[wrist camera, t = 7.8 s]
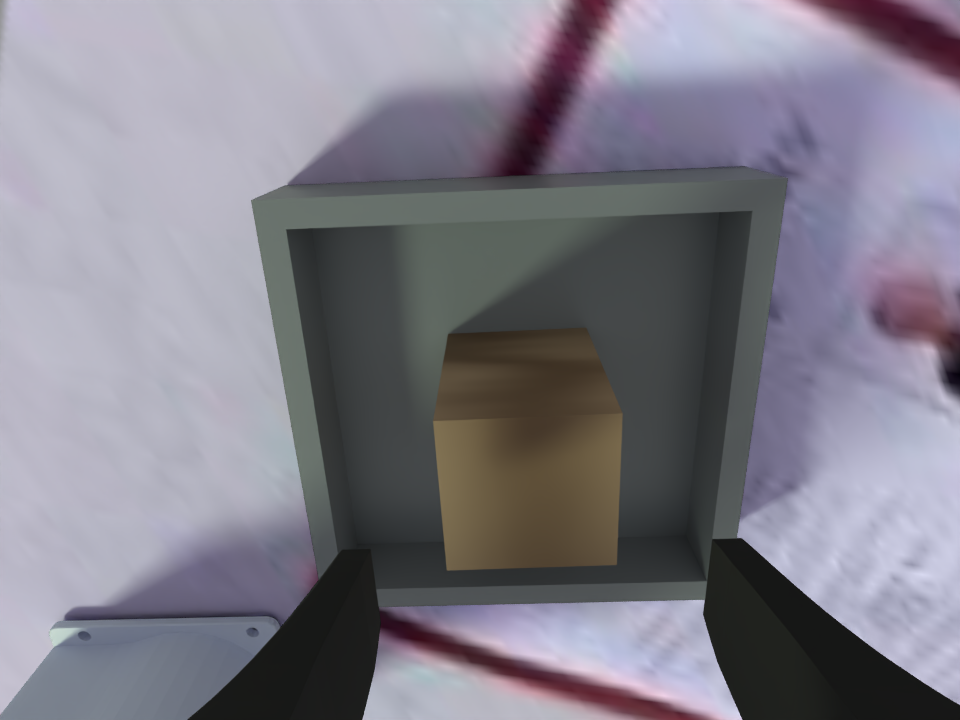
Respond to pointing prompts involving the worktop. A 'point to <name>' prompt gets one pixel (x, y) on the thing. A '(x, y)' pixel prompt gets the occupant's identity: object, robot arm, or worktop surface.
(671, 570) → the tray
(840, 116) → the worktop surface
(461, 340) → the walnut block
